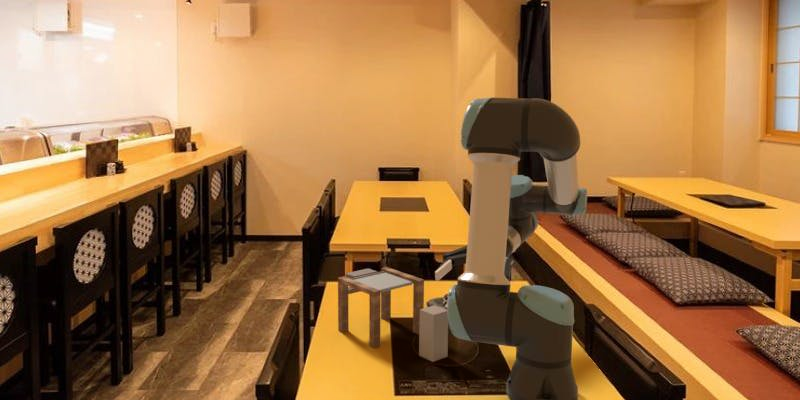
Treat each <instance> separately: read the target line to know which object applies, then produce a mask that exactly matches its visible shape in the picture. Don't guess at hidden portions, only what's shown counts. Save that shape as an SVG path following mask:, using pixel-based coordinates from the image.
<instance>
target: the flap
mask: <svg viewBox="0 0 800 400" xmlns="http://www.w3.org/2000/svg"><path fill="white" fill-rule="evenodd" d="M345 277H347V278H350V279H352V280H355V281H357V282H360V283H362V284H365V285H368V286H370V287H373V288H375V289H378V290H381V291H380V294H381V292H385V291H389V290H391V291H392V290H396V289H401V288H404V287H408V286H413V283H412V282H411V281H408V280H405V279H403V278H400V277H397V276H394V275H391V274H388V273H385V271H382V272H381V271H377V270H373V269H371V268H364V269H360V270H359V269H358V270H356V271H351V272H346V273H345Z"/></svg>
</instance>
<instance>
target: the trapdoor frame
mask: <svg viewBox="0 0 800 400" xmlns="http://www.w3.org/2000/svg"><path fill="white" fill-rule="evenodd" d="M382 271H385V273H388V274H391V275H394V276H397V277H400V278H403V279H405V280H408V281H411V282H412V286H413V287H412V288H413V290H412V291H413V293H412V294H413V296H412V297H413V298H412V299H413V301H412V303H413V305H412V310H413V311H412V333H414V334H416V335H419V326H420V309H423V308H425V307H424V306H425V304H424V301H425V299H424V297H425V279H423V278H419V277H417V276H415V275H412V274H408V273H405V272H402V271H399V270H397V269H394V268H391V267H388V266H385V267H382V268H381V269H380V272H382ZM380 291H381V290H378V289H375V288H373V287H370V286H368V285H365V284H362V283H360V282H357V281H355V280H352V279H350V278H347V277H346V276H340V277H337V312H338V313H337V314H338V316H337V319H338V320H337V321H338V322H337V325H338V327H337V329H338V331H339V332H341V333H345V332H348V331H349V295H351V294H356V293H359V292H362V293H365V294H367V295H369V299H368V300H369V302H368V303H369V306H368V307H369V310H368V311H369V312H368V313H369V325H368V326H369V329H368V330H369V333H368V334H369V337H368V338H369V339H368V341H369V344H368V345H369V347H370V348H373V349H377V348H380V347H381V319H382V320H384V321H388V320H391V317H392V314H391V312H392V311H391V310H392V309H391V308H392V303H391V302H392V299H391V298H392V290H389V291H385V292H381V293H380Z"/></svg>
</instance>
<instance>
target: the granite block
mask: <svg viewBox="0 0 800 400" xmlns="http://www.w3.org/2000/svg"><path fill="white" fill-rule="evenodd" d="M418 338H419V341H418V345H419V346H418V351H419V352H418V356H419V357H421V358H424V359H426V360H428V361H430V362H433V363H434V362H437V361H440V360H442V359H445V358H447V357H448V354H449V353H448V352H449V351H448V350H449V348H448V347H449V346H448V345H449V322H448V315H447V310H446V309H443V308H441V307H438V306H435V305H434V306H430V307H427V306H426V307H424V308H423V309H420V326H419V334H418Z"/></svg>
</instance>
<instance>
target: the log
mask: <svg viewBox="0 0 800 400" xmlns="http://www.w3.org/2000/svg"><path fill="white" fill-rule="evenodd" d="M447 300H448V293H446V292H445V294H444V295H443V297H439V296H438V297H435V298H431V299H429V300H428V301H426V308H427V307H430V306H434V305H435V306H438V307H441V308H443V309H446V310H447Z"/></svg>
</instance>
